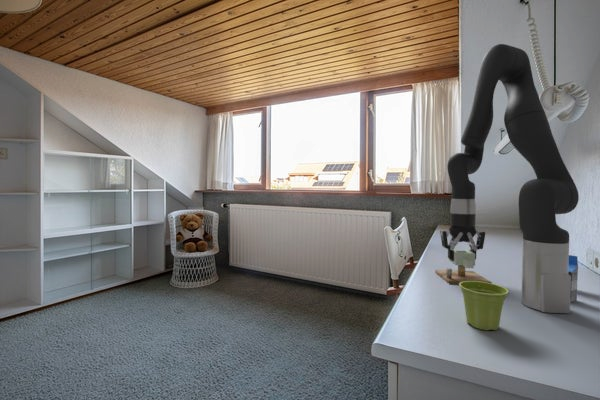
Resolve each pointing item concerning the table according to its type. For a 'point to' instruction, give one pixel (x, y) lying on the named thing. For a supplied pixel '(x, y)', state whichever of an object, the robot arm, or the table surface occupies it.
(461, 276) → the locating plate
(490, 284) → the plant pot
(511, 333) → the table surface
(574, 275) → the label tape box
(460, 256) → the square ring with handle
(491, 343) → the table surface
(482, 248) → the robot arm
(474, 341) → the table surface
